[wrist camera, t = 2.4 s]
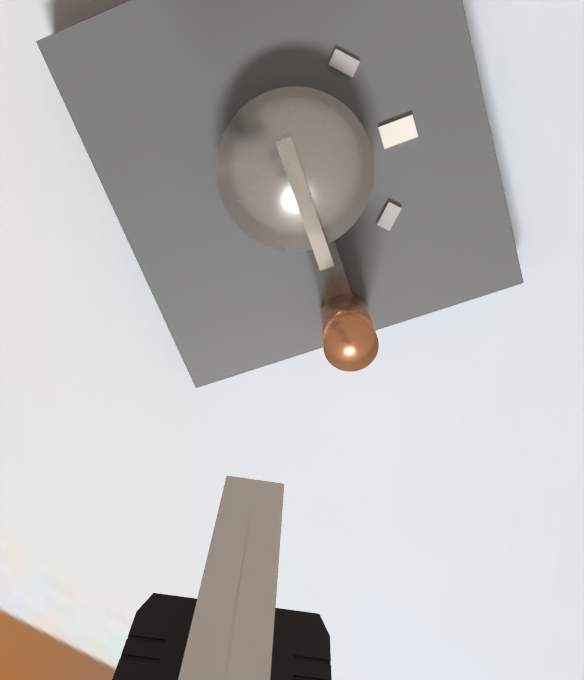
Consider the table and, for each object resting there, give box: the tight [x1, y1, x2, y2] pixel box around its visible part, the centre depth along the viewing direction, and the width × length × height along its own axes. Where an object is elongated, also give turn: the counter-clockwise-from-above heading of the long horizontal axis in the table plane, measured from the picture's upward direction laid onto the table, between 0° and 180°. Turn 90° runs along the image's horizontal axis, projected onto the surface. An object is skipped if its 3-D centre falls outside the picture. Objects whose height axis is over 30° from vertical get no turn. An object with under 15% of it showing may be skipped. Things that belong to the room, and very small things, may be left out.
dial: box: [216, 86, 378, 371], centre depth 25 cm, size 12×7×4 cm, turn 20°
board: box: [36, 0, 523, 388], centre depth 27 cm, size 18×18×2 cm
